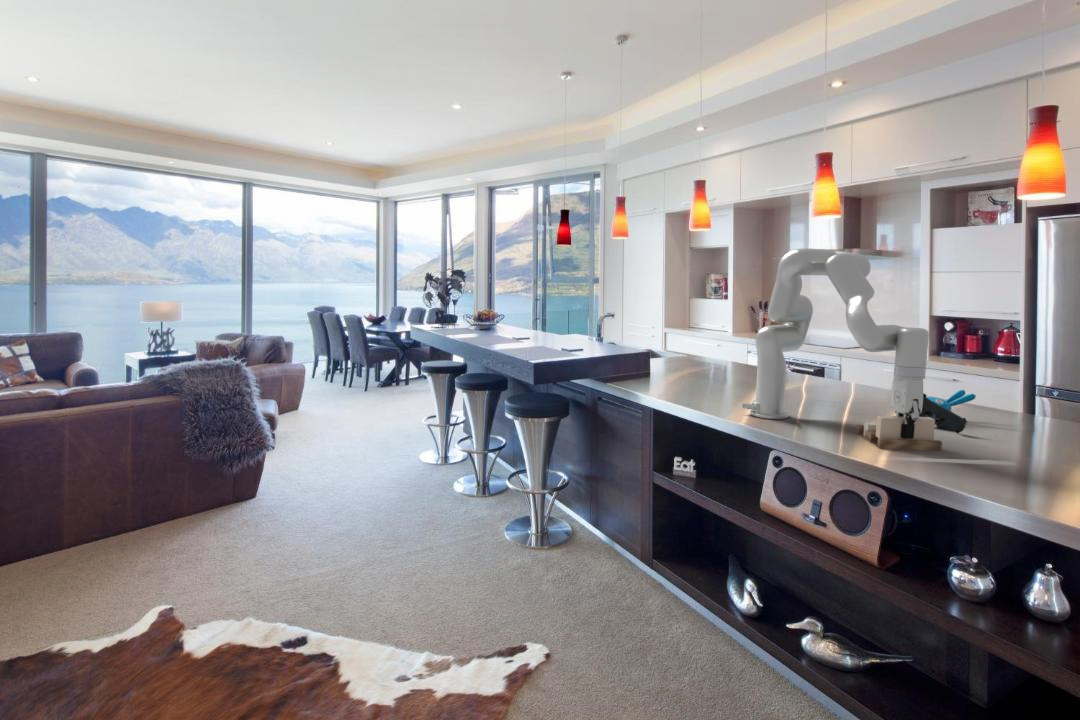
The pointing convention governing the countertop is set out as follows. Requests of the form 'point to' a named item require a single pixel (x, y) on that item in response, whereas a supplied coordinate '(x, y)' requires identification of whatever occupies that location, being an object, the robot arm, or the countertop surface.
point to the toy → (947, 403)
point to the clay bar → (892, 425)
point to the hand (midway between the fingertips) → (904, 435)
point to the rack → (899, 442)
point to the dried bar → (869, 427)
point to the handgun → (942, 416)
